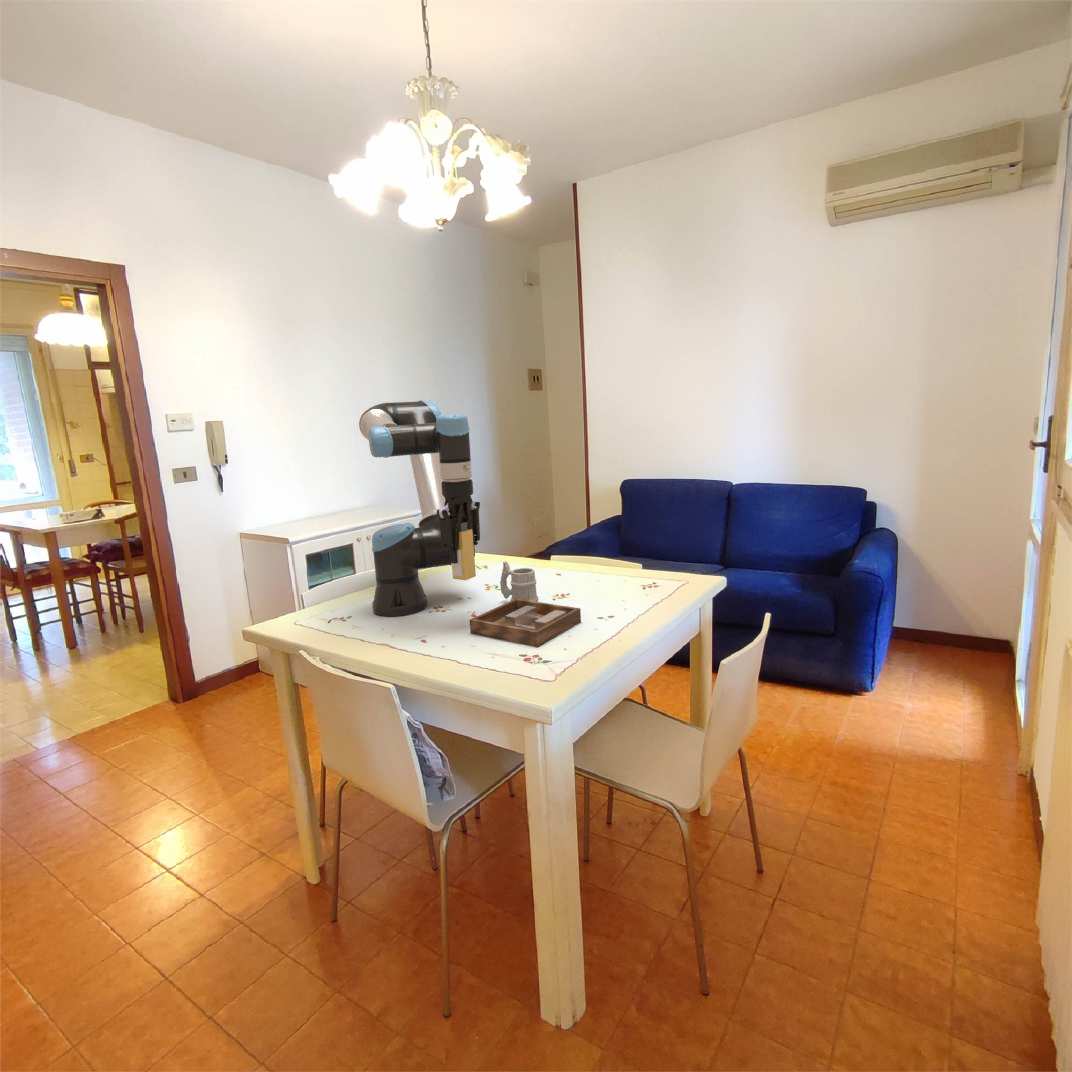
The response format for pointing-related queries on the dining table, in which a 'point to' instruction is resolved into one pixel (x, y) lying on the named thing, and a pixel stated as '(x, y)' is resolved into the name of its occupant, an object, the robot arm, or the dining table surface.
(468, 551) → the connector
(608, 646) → the dining table surface
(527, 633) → the box
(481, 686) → the dining table surface
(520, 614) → the inlet
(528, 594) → the mug
